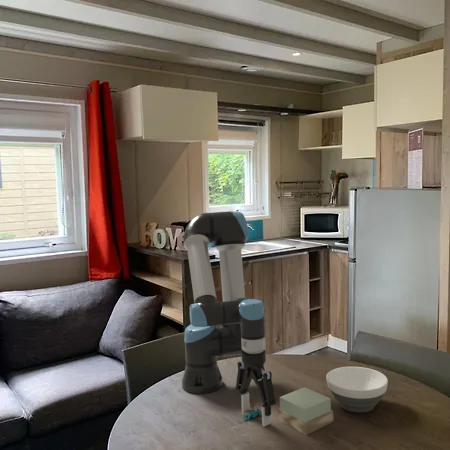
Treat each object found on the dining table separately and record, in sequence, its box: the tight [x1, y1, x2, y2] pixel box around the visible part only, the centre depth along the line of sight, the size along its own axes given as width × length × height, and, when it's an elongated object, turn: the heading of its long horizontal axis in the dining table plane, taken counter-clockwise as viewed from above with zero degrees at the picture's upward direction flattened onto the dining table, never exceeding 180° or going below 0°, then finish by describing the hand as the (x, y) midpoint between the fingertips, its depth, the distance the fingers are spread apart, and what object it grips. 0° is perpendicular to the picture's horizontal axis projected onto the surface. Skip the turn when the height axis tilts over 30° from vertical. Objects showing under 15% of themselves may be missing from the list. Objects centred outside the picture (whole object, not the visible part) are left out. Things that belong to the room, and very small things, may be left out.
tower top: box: [279, 386, 332, 423], centre depth 150 cm, size 11×11×4 cm
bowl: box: [325, 366, 389, 414], centre depth 159 cm, size 20×20×10 cm
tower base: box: [277, 407, 334, 436], centre depth 151 cm, size 12×12×4 cm
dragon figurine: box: [234, 399, 262, 424], centre depth 154 cm, size 7×7×8 cm
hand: (255, 418), depth 153 cm, fingers open, 9 cm apart
